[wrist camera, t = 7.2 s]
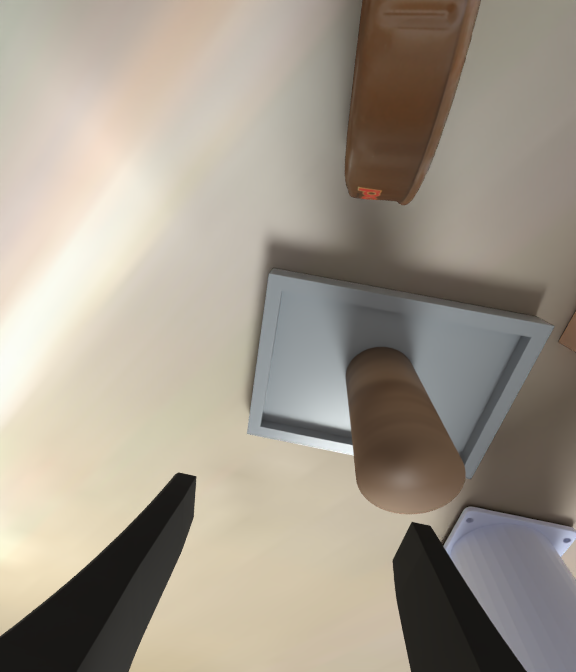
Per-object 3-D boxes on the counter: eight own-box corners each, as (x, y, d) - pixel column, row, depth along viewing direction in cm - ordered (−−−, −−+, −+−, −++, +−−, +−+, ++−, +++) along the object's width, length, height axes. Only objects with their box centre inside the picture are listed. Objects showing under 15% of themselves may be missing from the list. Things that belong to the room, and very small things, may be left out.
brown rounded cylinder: (397, 412, 20) (435, 525, 13) (336, 394, 20) (342, 497, 13) (425, 358, 18) (486, 454, 11) (359, 338, 18) (379, 423, 11)
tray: (461, 461, 22) (471, 479, 20) (251, 419, 22) (247, 433, 21) (536, 316, 17) (554, 326, 16) (273, 267, 18) (268, 273, 16)
